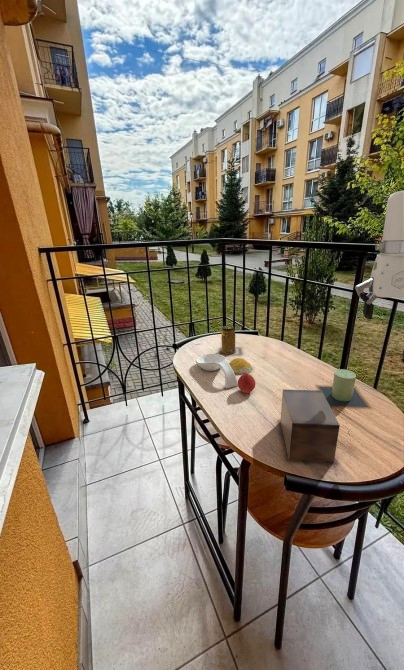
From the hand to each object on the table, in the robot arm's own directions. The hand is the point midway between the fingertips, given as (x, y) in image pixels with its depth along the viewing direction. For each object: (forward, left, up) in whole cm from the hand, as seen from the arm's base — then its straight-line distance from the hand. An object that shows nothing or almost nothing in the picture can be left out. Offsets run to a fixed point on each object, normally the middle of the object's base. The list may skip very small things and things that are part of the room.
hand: (388, 317), depth 72 cm
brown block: (+21, +14, -29) cm, 39 cm away
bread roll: (+37, -25, -29) cm, 53 cm away
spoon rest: (+46, -21, -29) cm, 58 cm away
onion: (+35, -8, -29) cm, 46 cm away
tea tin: (+6, -7, -28) cm, 29 cm away
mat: (+5, -7, -29) cm, 30 cm away
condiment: (+41, -41, -29) cm, 65 cm away
